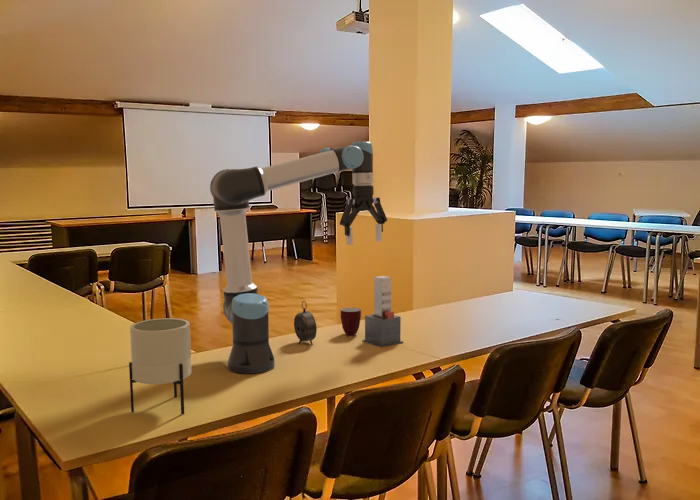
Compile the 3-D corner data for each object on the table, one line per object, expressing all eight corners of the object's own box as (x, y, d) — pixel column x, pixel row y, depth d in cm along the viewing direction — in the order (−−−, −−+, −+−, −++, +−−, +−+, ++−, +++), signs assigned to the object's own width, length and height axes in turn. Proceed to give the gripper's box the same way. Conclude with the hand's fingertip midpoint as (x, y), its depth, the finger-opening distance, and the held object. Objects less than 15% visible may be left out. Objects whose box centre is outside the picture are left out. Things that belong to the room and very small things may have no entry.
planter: (129, 402, 169) (125, 321, 167) (188, 394, 176) (185, 315, 173) (133, 422, 155) (129, 334, 153) (196, 413, 162) (193, 327, 159)
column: (382, 342, 227) (382, 278, 225) (374, 339, 231) (374, 277, 229) (391, 340, 230) (392, 277, 227) (383, 337, 234) (383, 275, 231)
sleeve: (380, 347, 223) (380, 314, 222) (362, 341, 232) (362, 309, 231) (403, 342, 230) (403, 310, 228) (384, 336, 239) (384, 305, 237)
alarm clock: (317, 345, 226) (317, 302, 224) (304, 347, 223) (304, 304, 222) (304, 339, 236) (303, 297, 234) (291, 341, 233) (291, 299, 231)
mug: (359, 338, 236) (359, 313, 234) (338, 338, 236) (338, 313, 235) (361, 332, 246) (361, 307, 245) (341, 331, 247) (341, 307, 246)
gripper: (341, 186, 212) (342, 246, 215) (395, 183, 226) (396, 240, 229) (328, 186, 218) (330, 245, 221) (382, 183, 232) (384, 239, 235)
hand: (364, 243), depth 225 cm, fingers open, 13 cm apart
